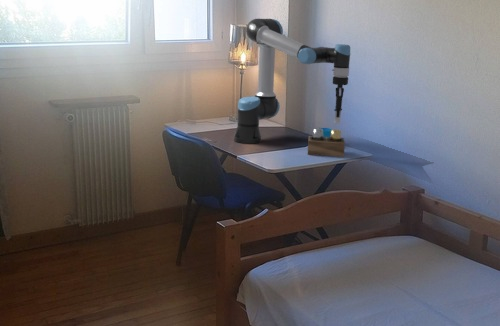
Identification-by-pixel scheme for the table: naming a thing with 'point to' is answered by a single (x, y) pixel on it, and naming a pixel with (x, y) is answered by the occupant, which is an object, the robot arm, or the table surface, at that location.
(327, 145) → the socket block
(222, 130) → the table surface
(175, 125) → the table surface
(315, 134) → the steel peg
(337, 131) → the brass peg
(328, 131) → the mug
